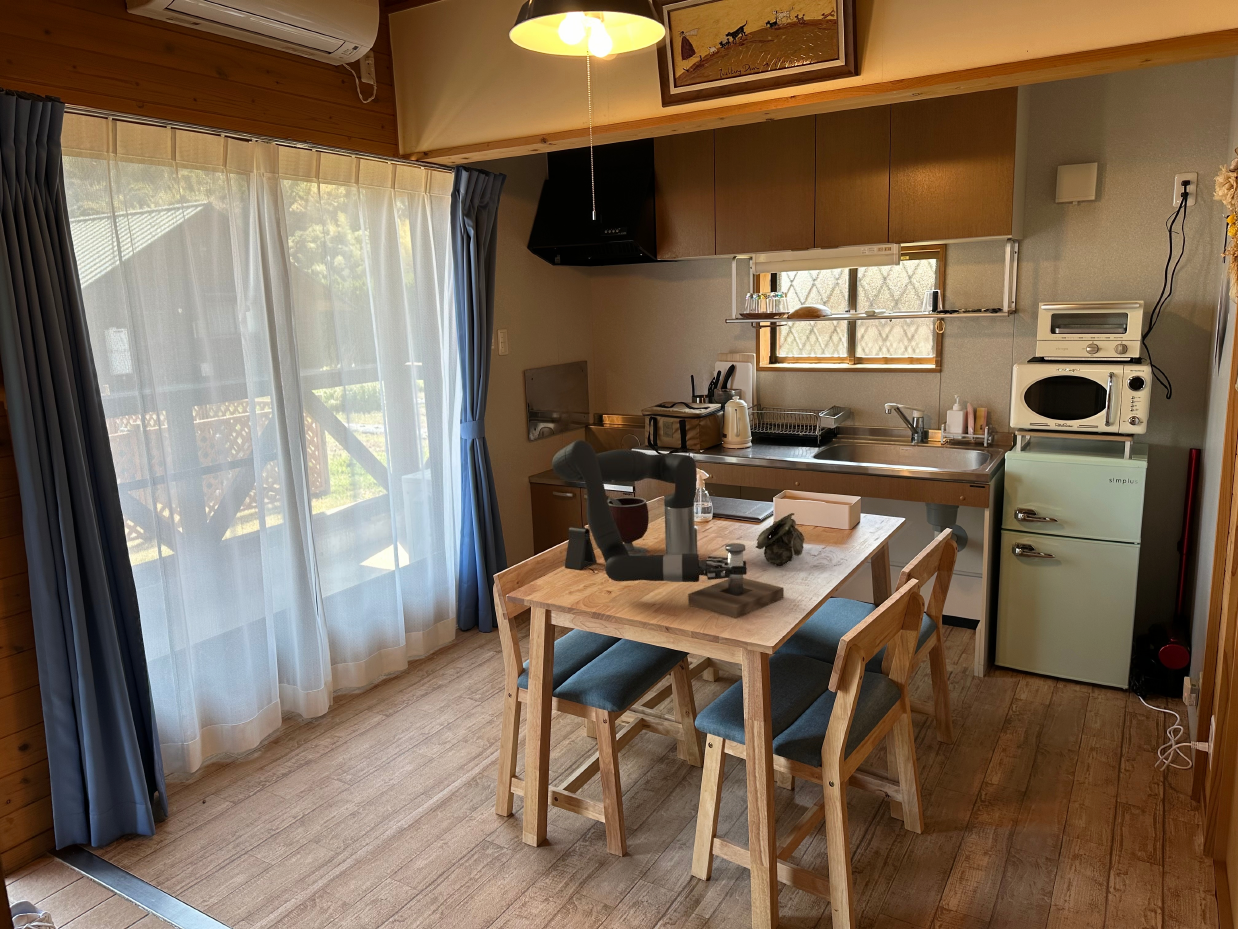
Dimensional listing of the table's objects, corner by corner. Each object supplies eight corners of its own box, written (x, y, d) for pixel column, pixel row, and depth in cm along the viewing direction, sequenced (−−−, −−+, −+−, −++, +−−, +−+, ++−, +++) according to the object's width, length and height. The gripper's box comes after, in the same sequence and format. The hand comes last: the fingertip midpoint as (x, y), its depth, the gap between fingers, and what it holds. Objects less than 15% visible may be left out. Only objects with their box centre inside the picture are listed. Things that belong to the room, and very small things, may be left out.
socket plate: (736, 586, 240) (736, 576, 239) (783, 598, 229) (783, 587, 228) (688, 604, 226) (688, 594, 226) (736, 618, 215) (736, 607, 215)
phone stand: (580, 570, 261) (578, 532, 259) (564, 568, 264) (562, 530, 262) (597, 562, 269) (595, 525, 266) (581, 560, 272) (579, 523, 270)
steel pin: (734, 592, 231) (733, 542, 228) (749, 596, 227) (749, 545, 225) (721, 597, 227) (721, 546, 225) (737, 601, 224) (736, 549, 221)
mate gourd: (625, 545, 287) (622, 486, 284) (658, 551, 279) (656, 490, 275) (594, 556, 276) (592, 495, 272) (628, 562, 267) (626, 500, 263)
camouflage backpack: (776, 587, 253) (812, 553, 247) (744, 556, 254) (779, 522, 248) (790, 557, 279) (823, 527, 273) (761, 530, 280) (793, 499, 274)
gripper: (679, 561, 220) (747, 561, 218) (681, 546, 234) (745, 546, 232) (680, 590, 221) (747, 590, 219) (682, 573, 235) (745, 573, 233)
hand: (746, 567), depth 226 cm, fingers open, 4 cm apart
